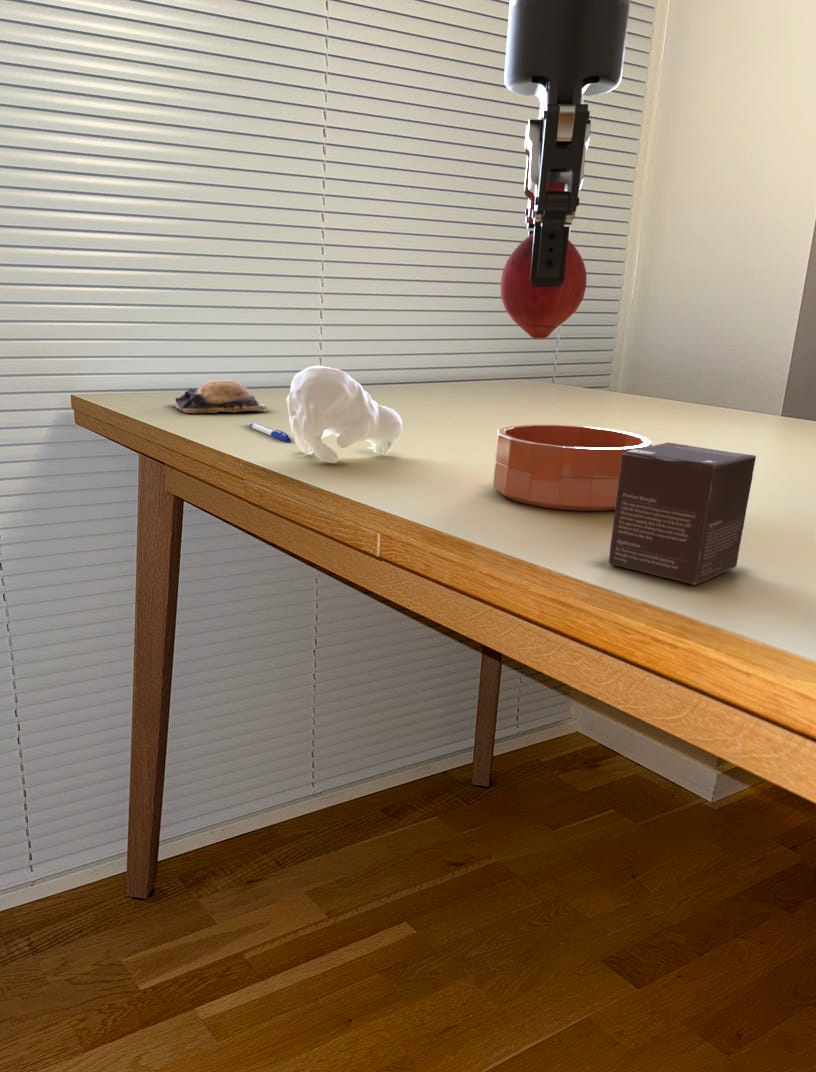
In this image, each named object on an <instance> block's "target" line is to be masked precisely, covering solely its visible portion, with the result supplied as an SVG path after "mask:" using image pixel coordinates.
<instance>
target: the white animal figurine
mask: <svg viewBox="0 0 816 1072" xmlns="http://www.w3.org/2000/svg"><path fill="white" fill-rule="evenodd" d="M285 404H286V407H287V410H288V421H289V425H290V428H291V430H290V431H291V434H292V437H293V441H294V443H295V444H296V446H297V447H298V448H299V450H300V451H301V452H302V453H303V454H305V455H310V456H311V455H313V454H314V455H315V456H316V457H317V458H318V459H319V460H321V461H323V462H325V463H328V464H337V463H338V462H339V455H338V453H336V451H335V449H333V448H332V447H331V446H330V445H328V444H327V443H325V442H324V441H323V440H322V439H324V438H326V437H329V436H331V435H333V436H335V437H336V444H337V446H338V447H339V448H341V449H345V448H348V447H350V446H352V445H353V444H355V443H358V442H364V441H366V442H368V443H370V445H371V446H369V447H368V449H372V450H373V451H372V452H374V453H375V454H380V453H381V454H382V455H387V454H389V453H390V451H391V449H392V448H393V447H394V445H395V443H397V442H398V440H400V438H401V437H402V435H403V428H404V427H403V425H404V424H403V421H402V418H401V416H400V415H399V414H398V413H397V411H396V410H394V409H393V408H390V407H389V406H384V405H380V404H378V403H377V401H375V400H374V399H372V396H371V394H370V393H369V392H367V391H366V390H364V389H363V386H362V384H360V383H359V382H358V381H356V380H355V379H354V378H353V377H351V376H350V374H349V373H347V372H345V371H343V370H341V369H338V368H334V367H329V366H324V365H313V366H308V367H306V368H304V369H303V370H301V371H299V372H297V373H296V374H295V375H294V377H293V379H292V381H291V383H290V391H289V393H288V395H287V397H286V399H285Z"/></svg>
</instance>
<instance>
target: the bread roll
mask: <svg viewBox="0 0 816 1072" xmlns="http://www.w3.org/2000/svg"><path fill="white" fill-rule="evenodd" d="M174 400H175V401H174V402H173V407H174V408H175V409H176V410H177V409H178V410H179V411H181V412H183V413H185V414H187V415H188V414H208V413H211V414H216V413H219V412H222V413H223V412H225V413H226V412H227V413H240V412H252V411H253V412H266V411H267V410H268V409H267V406H266V404H263V403H261V402H259V401H257V400H256V397H255V396H253V394H252V393H251V392H250V390H249V389H248V388H247V387H246V386H245V385H242V384H241V383H239V382H236V381H235V380H230V379H215V380H210V381H207V382H205V383H203V384H201V385H200V386H199V387H198V388H192V387H189V388H188V389H187V390H185V392H184V394H182V395H181V396H179V397H176V398H175V399H174Z"/></svg>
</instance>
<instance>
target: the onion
mask: <svg viewBox="0 0 816 1072" xmlns="http://www.w3.org/2000/svg"><path fill="white" fill-rule="evenodd" d="M533 237H534V233H533V234H531V235H530V236H529V237H528V236H527V237H526V238H525V239H523V240H522V241H521V242H520V243H519V244H518V245H517V246H516V247H515V249H514V250H513V251H512V253H510V255H509V257H508V258H507V261H506V263H505V265H504V268H503V270H502V274H501V279H500V298H501V301H502V304H503V306H504V309H505V311H506V313H507V314H508V315H509V317H510V318H511V320H512V321H513V322H514V323H515V324H516V325H517V326H518V327H520V329H521V330H523V331H524V332H525V333H527V335H529V336H530V337H531V338H532V339H534V340H545V339H546V338H548V337H549V336H551V333H553V332H554V331H555V330H556V329H558V327H559V326H561V325H562V324H563V323H564V322H566V321H567V320H568V319H569V318H570V317H572V315H574V313H575V312H577V310H578V308H579V307H580V305H581V303H582V301H583V300H584V297H585V293H586V289H587V269H586V266H585V262H584V259H583V257H582V255H581V253H580V252H579V251H578V249H577V247H576V246H575V245H574V244H573V242H572V241H570V240H569V239H568V246H567V256H566V266H565V276H564V282H563V283H562V285H560V286H559V287H537V286H533V285H532V284H531V282H530V271H531V260H532V248H533Z"/></svg>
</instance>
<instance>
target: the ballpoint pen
mask: <svg viewBox="0 0 816 1072" xmlns="http://www.w3.org/2000/svg"><path fill="white" fill-rule="evenodd" d="M249 426H250V427H251V429H253V430H255V431H258V432H261V433H264V434H265V435H268V436H269V437H272V438H274V439H277V440H280V441H281V442H285V443H290V442H291V441H292V439H291V437H290V436H289V435H290V434H289V435H288V434H287V433H286V432H284V431H282V430H279V429H276V430H272V429H270V428H267V427H266V426H263V425H259V424H257V423H250V424H249Z"/></svg>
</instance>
